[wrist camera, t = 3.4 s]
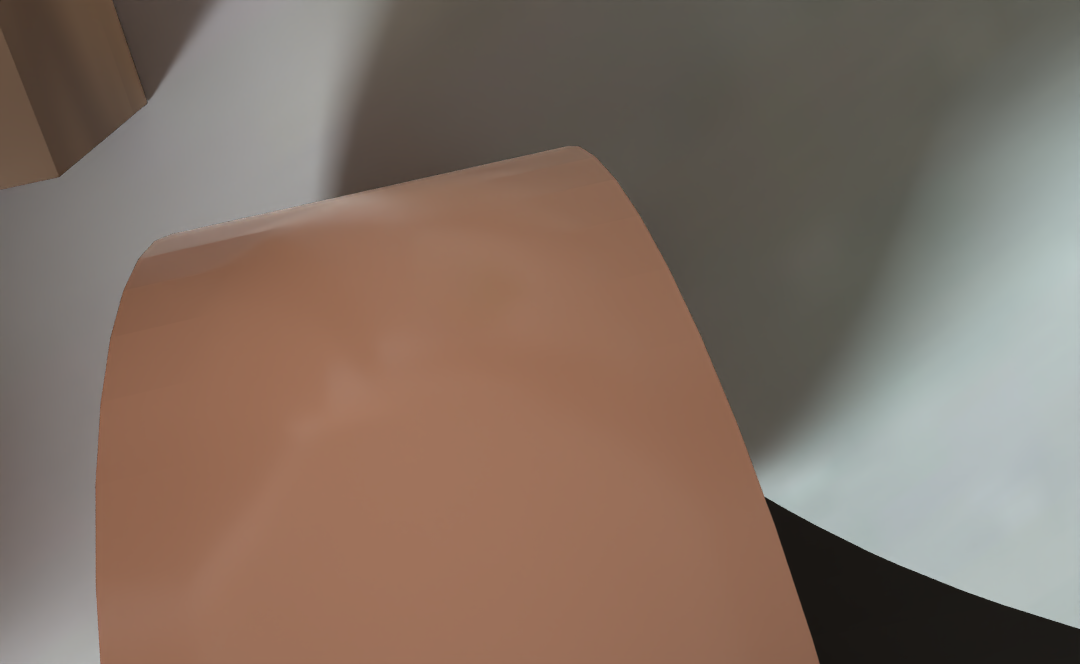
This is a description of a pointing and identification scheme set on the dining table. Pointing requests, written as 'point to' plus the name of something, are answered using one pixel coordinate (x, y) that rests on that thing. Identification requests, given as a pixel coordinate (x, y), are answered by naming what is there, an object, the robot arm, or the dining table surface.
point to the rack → (60, 85)
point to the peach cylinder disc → (429, 441)
